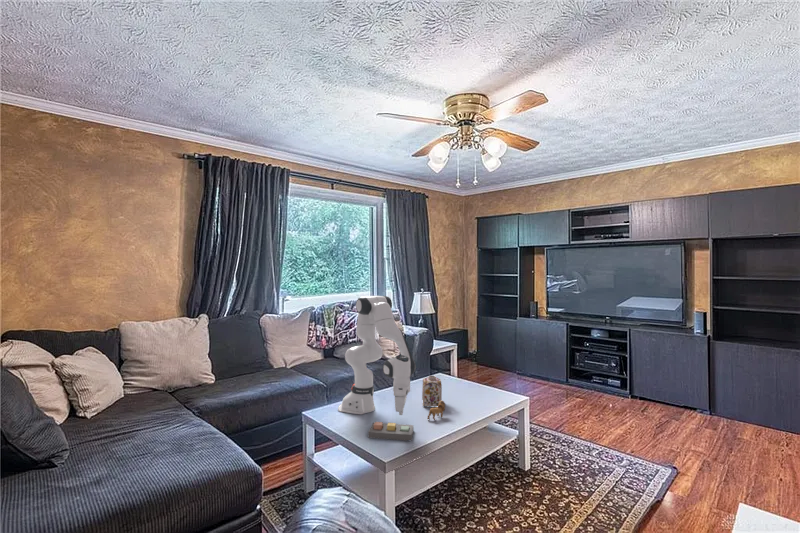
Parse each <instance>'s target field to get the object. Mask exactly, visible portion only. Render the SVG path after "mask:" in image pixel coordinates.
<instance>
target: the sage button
mask: <svg viewBox="0 0 800 533" xmlns="http://www.w3.org/2000/svg"><path fill="white" fill-rule="evenodd" d="M401 431H407V432H409V426H401Z"/></svg>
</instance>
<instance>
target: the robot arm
mask: <svg viewBox="0 0 800 533" xmlns="http://www.w3.org/2000/svg"><path fill="white" fill-rule="evenodd" d="M392 307H393V302H392V299H391V298H390V297H389V296H386V295H370V296H369V295H368V296H364V295H363V296H359V297H358V298H357V300H356V301H355V310H356V311H357V313H358V314H357V322H356V336H357V337H358V338H359V339H360V340H362V345H357V346H352V347H350V348H347V350H346V351H345V354H344V360H345V362H346V363H347V365H349V366H351V368H352V370H353V373H354V383H353V384H352V386H351V391H350V392H349V393H347V394H346V395H345V396H344V397H343V399H342V401H341V403H340V404H339V406H338V407H337V411H338V412H339V413H340V412H341V413H348V414H354V415H364V414H366V413H367V414H368V413H371V412H373V411H375V409H376V406H375V400H374V392H375V387H374V374H373V373H374V372H373V371H372V370H371V369H369V368H368V367H367V364H368V363H373V362H377V361H378V360H380V359H381V358H382V357H383V355H384V354H383V353H384V351H383V347H382V346H381V345H380V344H379V343H378V342H377V339H376V333H377V334H378V335H379V336H381V338H382V337H383V338H385V339H387V340H390V341H392V342H394V343H395V344H396V346H397V347H398V350H399V353H400V354H399V355H396V356H395V357H394V358H391V359H390V358H389V359H387V360H385V361H384V362H383V364H382V365H383V366H382V373H383V374H384V376H385V377H387V378H391V379H393V382H392V383H393V384H392V391H393V396H394V408H395V409H394V410H395V412H396V413H398V415H399V416H403V415H404V408H405V404H406V401H407V396H408V394H409V393H410V392H411V379H410V377H411V376H413V375H414V373H415V371H416V369H417V366H416V361H415V360H414V357H413V355H412V354H411V351H410V347H409V345H408V342H407V340H406V338H405V335H404V333H403V331H402V329H401V328H399V327H398V326H397V324H396V321H395V318H394V313H393V309H392Z"/></svg>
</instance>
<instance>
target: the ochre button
mask: <svg viewBox="0 0 800 533" xmlns="http://www.w3.org/2000/svg"><path fill="white" fill-rule="evenodd" d="M387 424H388V425H387V430H392V431H395V430H396V424H397V423H396V422H387Z"/></svg>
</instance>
